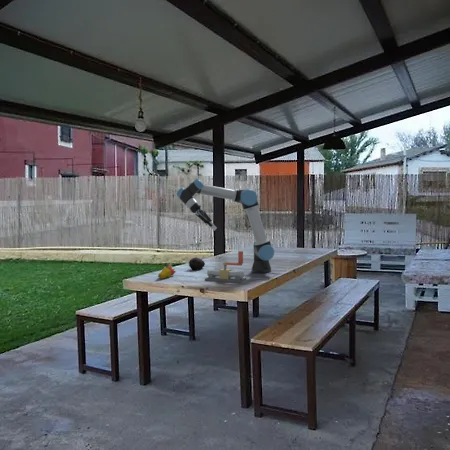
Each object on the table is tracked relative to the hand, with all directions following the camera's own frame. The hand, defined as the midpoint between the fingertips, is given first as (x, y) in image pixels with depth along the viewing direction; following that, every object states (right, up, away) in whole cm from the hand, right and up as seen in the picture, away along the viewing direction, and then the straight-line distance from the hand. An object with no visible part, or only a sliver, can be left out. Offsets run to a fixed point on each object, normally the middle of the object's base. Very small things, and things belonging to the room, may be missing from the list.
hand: (215, 229), depth 343 cm
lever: (+12, -24, -9) cm, 29 cm away
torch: (-36, -35, +10) cm, 52 cm away
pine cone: (-16, -33, +48) cm, 60 cm away
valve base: (+7, -35, -6) cm, 36 cm away
